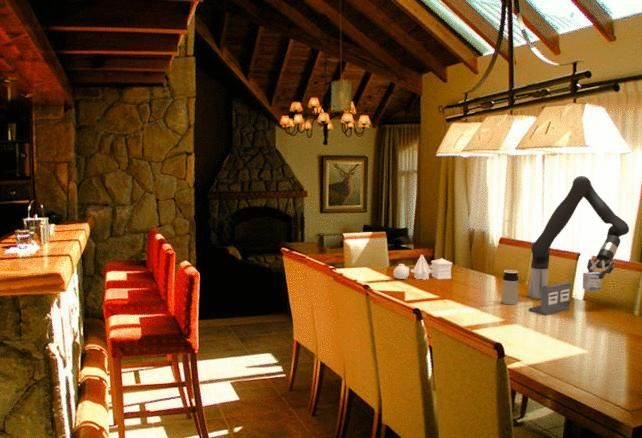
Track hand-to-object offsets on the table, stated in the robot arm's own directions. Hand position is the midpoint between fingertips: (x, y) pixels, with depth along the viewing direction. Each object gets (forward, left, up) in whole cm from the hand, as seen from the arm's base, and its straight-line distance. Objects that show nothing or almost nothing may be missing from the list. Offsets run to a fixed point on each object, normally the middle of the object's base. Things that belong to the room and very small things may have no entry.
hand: (594, 277), depth 312 cm
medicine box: (-1, -1, -6) cm, 7 cm away
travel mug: (-35, -23, -18) cm, 46 cm away
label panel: (-13, -19, -18) cm, 29 cm away
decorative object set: (-115, -9, -18) cm, 117 cm away
